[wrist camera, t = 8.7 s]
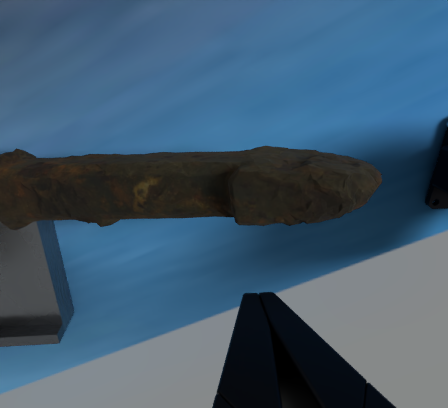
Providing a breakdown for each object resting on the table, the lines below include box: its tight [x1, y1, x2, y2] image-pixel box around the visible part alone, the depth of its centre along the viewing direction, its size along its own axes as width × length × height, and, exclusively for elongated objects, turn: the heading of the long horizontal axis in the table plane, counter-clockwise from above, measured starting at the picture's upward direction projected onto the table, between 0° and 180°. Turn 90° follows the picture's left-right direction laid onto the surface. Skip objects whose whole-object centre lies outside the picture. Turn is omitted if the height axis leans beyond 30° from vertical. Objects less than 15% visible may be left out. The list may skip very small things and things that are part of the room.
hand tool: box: [0, 146, 382, 230], centre depth 15 cm, size 19×4×5 cm, turn 93°
